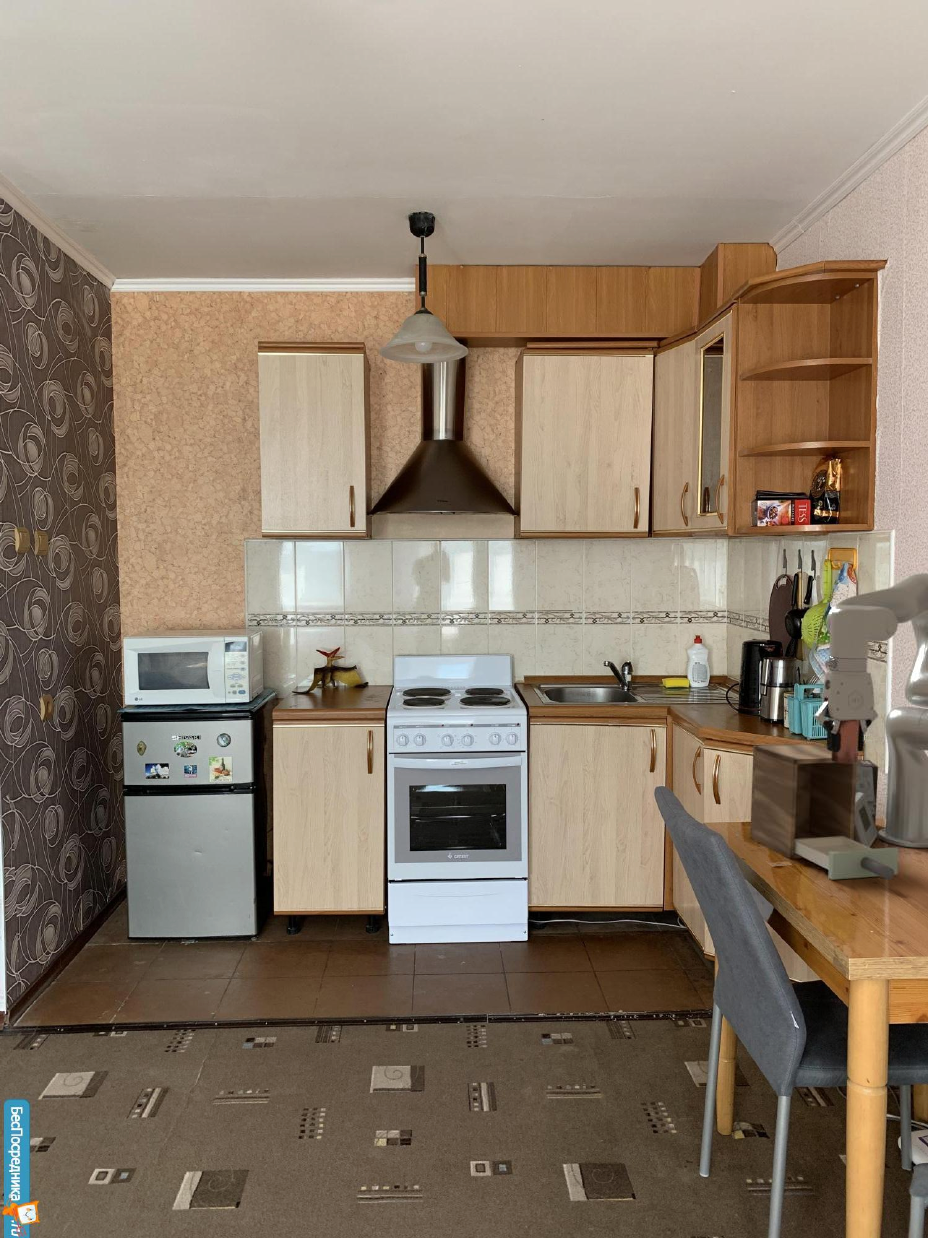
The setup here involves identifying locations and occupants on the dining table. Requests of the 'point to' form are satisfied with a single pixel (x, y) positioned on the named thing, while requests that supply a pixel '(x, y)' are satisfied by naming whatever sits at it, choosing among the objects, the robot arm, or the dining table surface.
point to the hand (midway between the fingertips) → (845, 749)
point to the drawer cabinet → (800, 796)
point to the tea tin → (847, 742)
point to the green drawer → (848, 857)
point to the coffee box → (868, 783)
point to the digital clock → (863, 822)
